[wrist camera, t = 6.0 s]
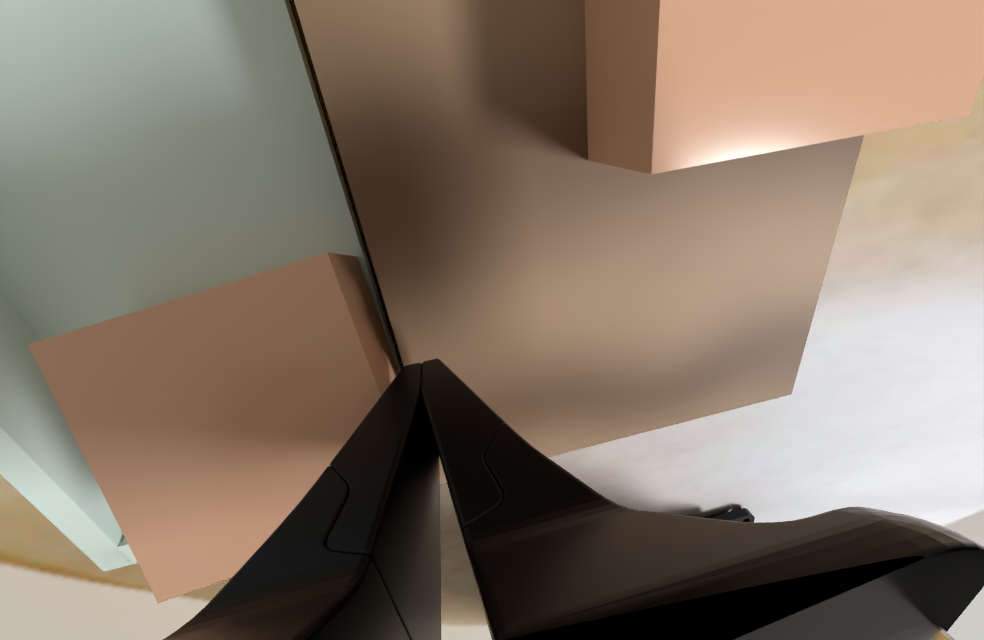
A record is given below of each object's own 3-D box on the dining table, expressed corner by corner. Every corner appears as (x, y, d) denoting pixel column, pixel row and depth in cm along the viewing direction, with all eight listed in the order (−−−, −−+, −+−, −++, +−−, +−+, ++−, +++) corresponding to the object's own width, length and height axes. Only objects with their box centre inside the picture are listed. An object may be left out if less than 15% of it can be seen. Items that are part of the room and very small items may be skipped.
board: (736, 355, 15) (791, 394, 13) (434, 428, 14) (439, 485, 12) (860, -308, 8) (1034, -473, 6) (235, -276, 7) (152, -471, 4)
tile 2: (430, 457, 11) (423, 510, 9) (224, 528, 11) (157, 603, 9) (357, 256, 10) (326, 252, 8) (132, 326, 10) (26, 344, 8)
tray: (420, 432, 14) (422, 489, 12) (154, 497, 13) (103, 571, 11) (205, -274, 7) (104, -472, 4) (-452, -240, 6) (-1003, -473, 3)
